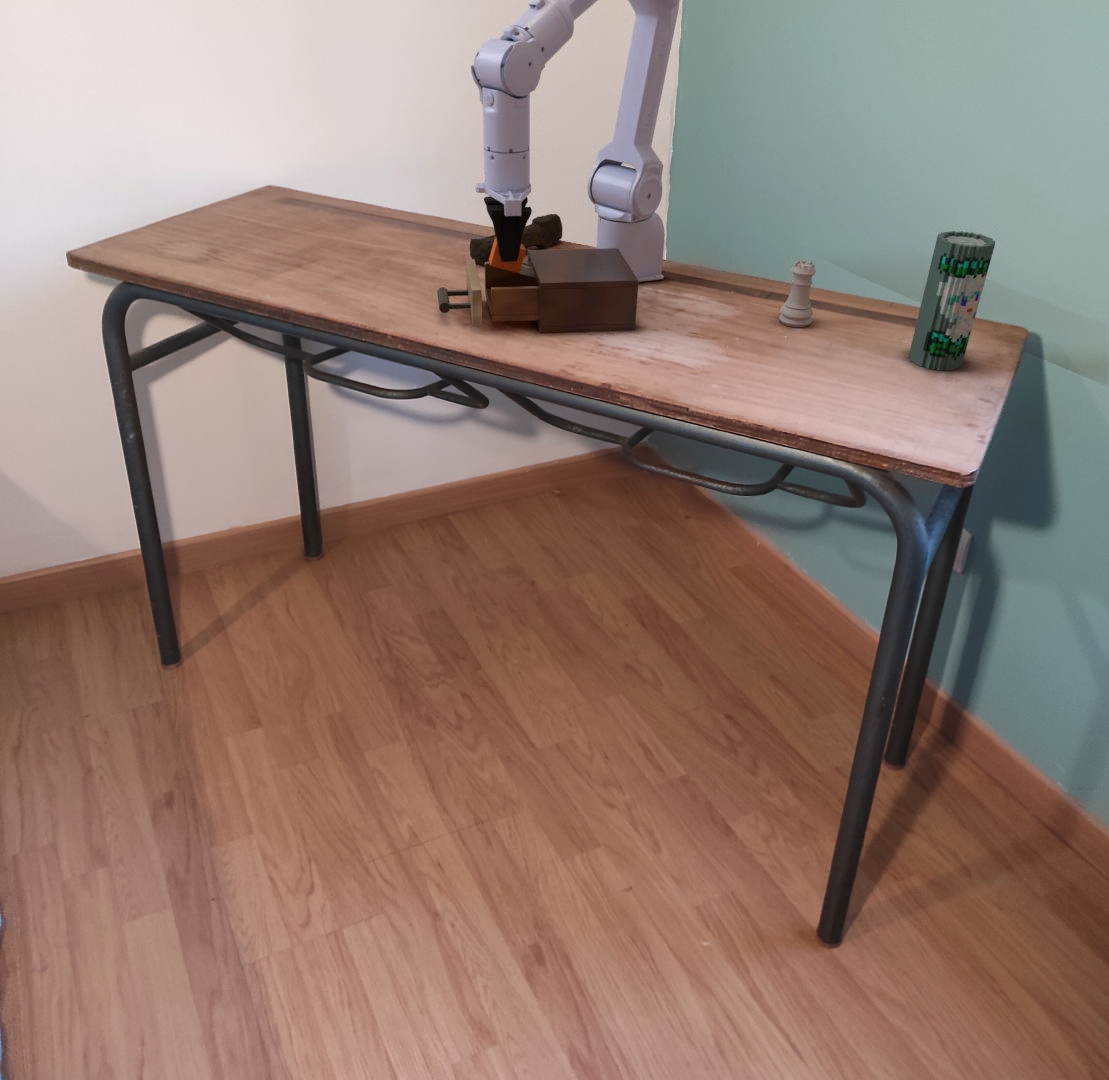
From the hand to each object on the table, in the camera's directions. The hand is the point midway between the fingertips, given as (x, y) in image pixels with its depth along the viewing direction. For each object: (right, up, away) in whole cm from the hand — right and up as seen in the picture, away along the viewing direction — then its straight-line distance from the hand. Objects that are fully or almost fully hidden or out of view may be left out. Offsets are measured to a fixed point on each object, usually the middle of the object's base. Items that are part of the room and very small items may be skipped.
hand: (507, 256), depth 127 cm
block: (0, -1, +1) cm, 2 cm away
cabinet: (+10, -7, +3) cm, 12 cm away
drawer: (-2, -6, +2) cm, 7 cm away
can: (+53, -15, -7) cm, 56 cm away
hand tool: (0, +8, +26) cm, 27 cm away
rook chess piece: (+39, -8, +2) cm, 39 cm away
